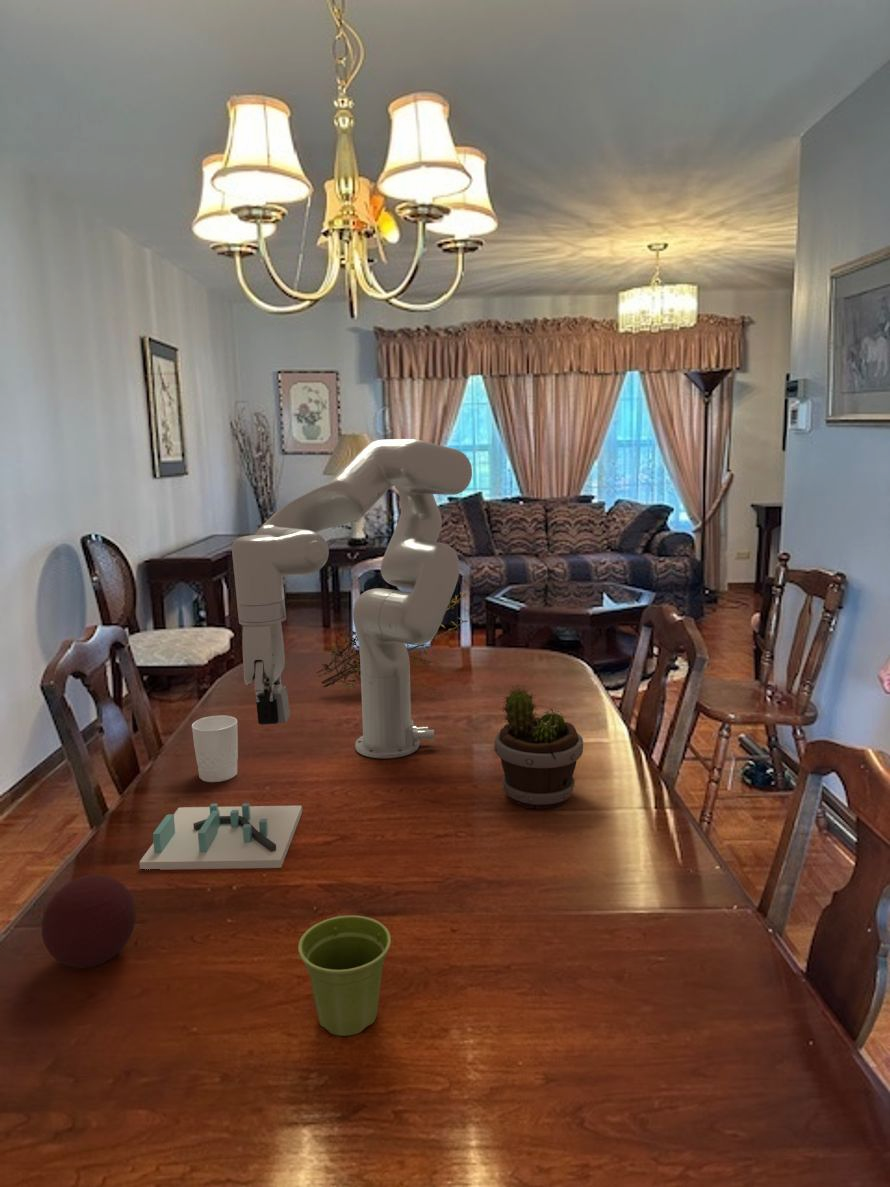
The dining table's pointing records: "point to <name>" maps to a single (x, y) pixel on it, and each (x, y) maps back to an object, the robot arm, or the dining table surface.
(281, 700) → the block
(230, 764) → the white cup
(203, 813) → the board
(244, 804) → the clips
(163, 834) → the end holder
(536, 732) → the flowerpot
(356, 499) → the robot arm
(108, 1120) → the dining table surface
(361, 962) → the plant pot
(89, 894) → the decorative ball
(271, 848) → the cable
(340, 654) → the dried plant
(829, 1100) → the dining table surface
